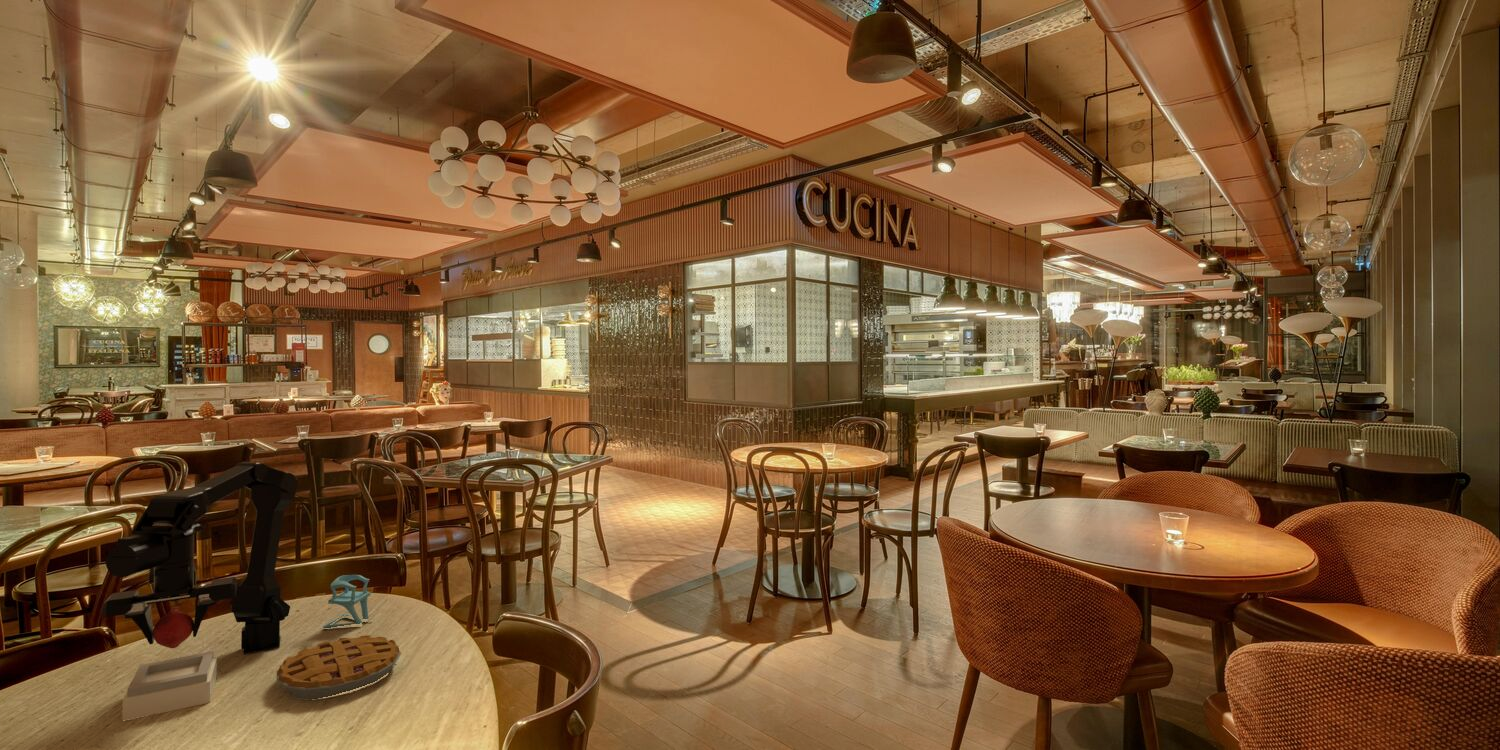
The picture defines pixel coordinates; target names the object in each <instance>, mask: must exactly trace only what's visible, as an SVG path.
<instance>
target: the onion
mask: <svg viewBox="0 0 1500 750" xmlns="http://www.w3.org/2000/svg"><path fill="white" fill-rule="evenodd" d="M193 626H194V619H193V618H192V617H191V616H190V615H189V614H188V613H186V612H184V611H181V610H180V606H178V605H177V606H173V607H172V608H171V609H170V610H169V611H168V612H167V613H166V614H164V615H163V616H162V617H160V619H158V620H157V622H156V624H155V625H154V626H153V638H154V642H156V644H157V645H160V646H162V647H165V648H169V649H176V648H178V647H179V646H180V645H181V644H182V643H183V642H184V641H186V640H187V639H188V638H189V637H190V636H191V635H192V634H193Z"/></svg>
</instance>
